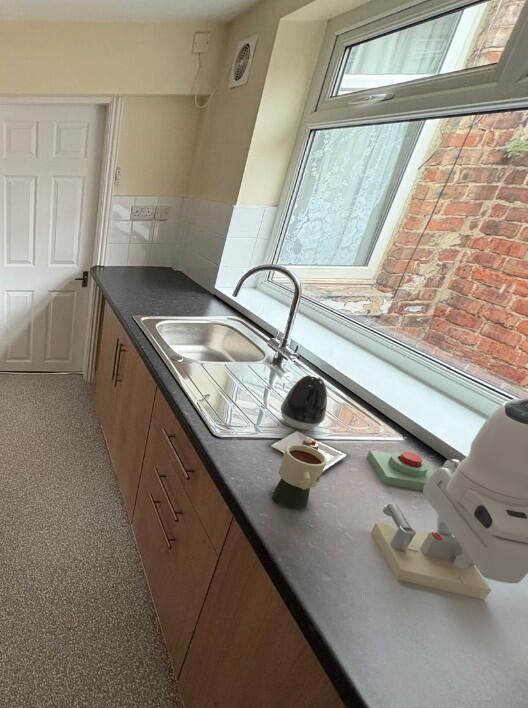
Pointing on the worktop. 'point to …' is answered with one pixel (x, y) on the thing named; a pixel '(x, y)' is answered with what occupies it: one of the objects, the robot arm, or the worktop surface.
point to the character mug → (298, 475)
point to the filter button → (410, 459)
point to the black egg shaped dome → (305, 403)
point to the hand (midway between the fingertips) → (449, 552)
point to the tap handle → (441, 546)
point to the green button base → (399, 470)
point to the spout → (399, 528)
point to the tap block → (428, 566)
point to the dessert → (302, 439)
